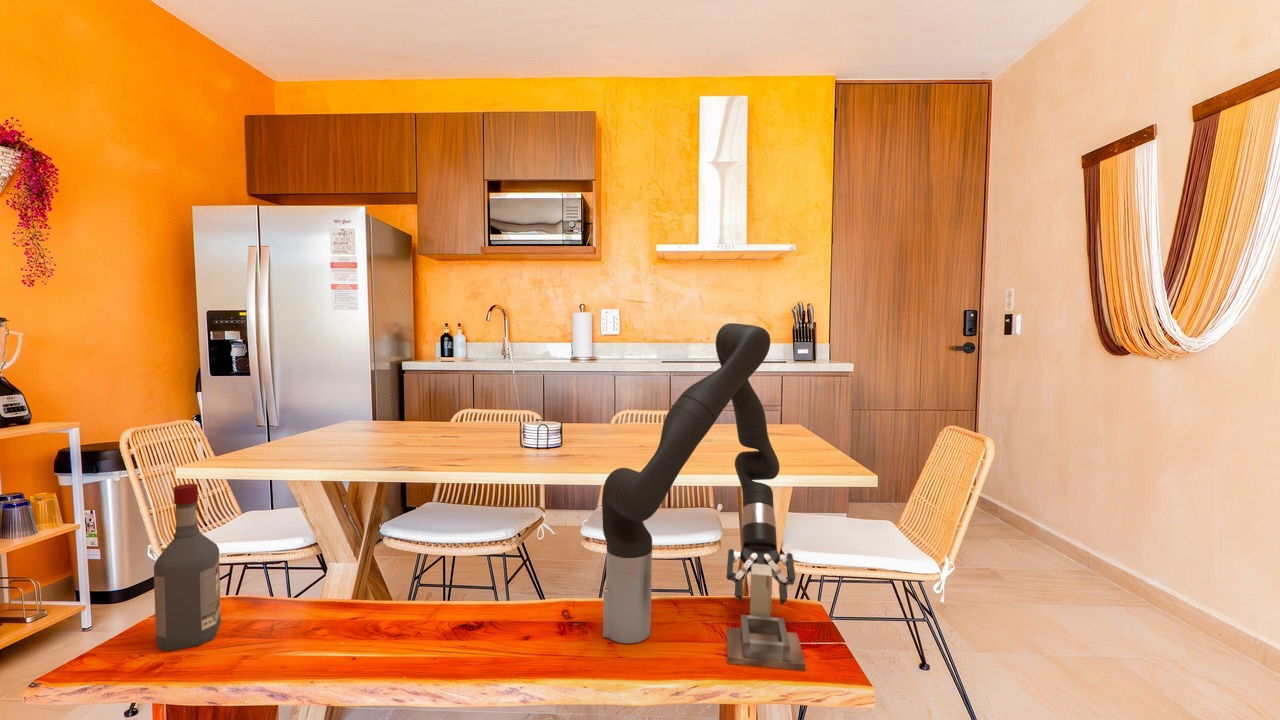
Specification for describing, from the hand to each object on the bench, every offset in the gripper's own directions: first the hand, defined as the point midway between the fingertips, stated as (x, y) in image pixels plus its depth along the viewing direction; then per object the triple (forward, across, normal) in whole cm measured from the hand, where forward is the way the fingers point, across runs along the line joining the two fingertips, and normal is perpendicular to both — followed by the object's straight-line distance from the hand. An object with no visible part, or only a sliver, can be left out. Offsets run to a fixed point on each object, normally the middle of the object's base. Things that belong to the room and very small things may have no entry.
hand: (761, 601), depth 120 cm
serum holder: (+10, 0, -2) cm, 10 cm away
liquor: (+20, -111, -11) cm, 113 cm away
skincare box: (+3, 0, +5) cm, 6 cm away
